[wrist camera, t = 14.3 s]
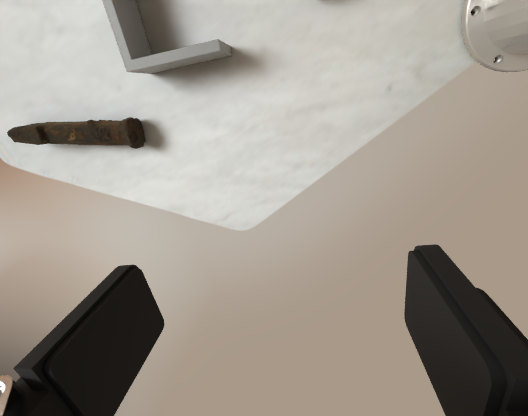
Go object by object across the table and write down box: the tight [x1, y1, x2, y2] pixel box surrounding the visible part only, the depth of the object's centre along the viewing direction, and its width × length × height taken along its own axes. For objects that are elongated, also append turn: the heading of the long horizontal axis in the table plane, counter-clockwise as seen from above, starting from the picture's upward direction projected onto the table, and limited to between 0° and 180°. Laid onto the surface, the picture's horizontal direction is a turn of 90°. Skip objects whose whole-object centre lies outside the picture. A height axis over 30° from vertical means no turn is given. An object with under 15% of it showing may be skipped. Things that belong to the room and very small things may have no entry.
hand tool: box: [7, 118, 145, 149], centre depth 36 cm, size 19×4×5 cm, turn 89°
